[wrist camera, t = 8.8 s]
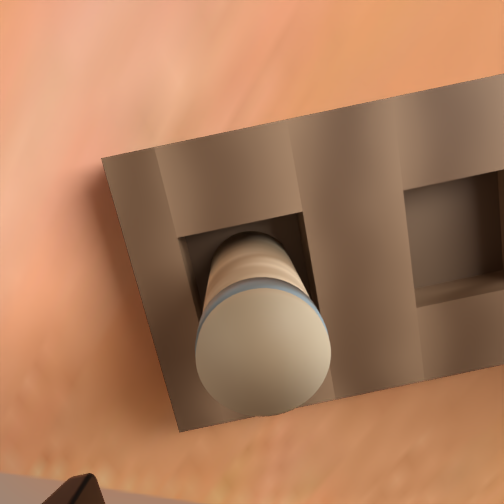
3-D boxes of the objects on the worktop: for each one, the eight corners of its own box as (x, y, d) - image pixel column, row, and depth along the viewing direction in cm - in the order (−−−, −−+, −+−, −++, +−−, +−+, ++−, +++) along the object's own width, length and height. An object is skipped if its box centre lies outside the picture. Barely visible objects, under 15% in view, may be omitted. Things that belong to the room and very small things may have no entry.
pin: (283, 221, 18) (320, 277, 11) (298, 299, 19) (342, 402, 12) (201, 239, 18) (178, 308, 11) (219, 315, 19) (211, 430, 12)
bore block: (531, 70, 18) (577, 58, 15) (539, 325, 21) (580, 348, 18) (118, 157, 18) (101, 158, 15) (185, 399, 21) (179, 432, 18)
